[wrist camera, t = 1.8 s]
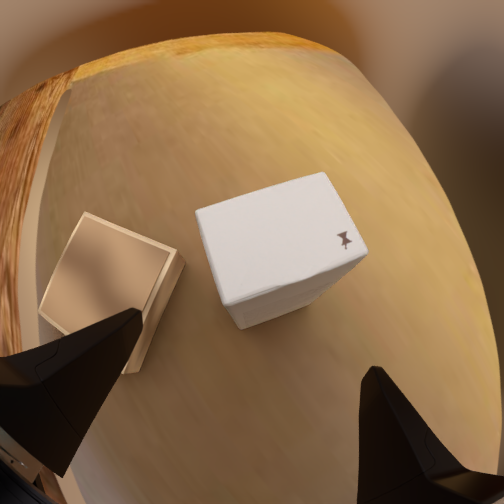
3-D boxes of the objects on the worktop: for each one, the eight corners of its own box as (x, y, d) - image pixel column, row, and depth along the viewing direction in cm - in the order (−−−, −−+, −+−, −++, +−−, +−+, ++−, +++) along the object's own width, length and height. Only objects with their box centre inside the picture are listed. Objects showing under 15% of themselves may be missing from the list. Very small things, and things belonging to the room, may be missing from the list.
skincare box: (290, 257, 22) (327, 167, 11) (310, 304, 21) (375, 254, 10) (220, 281, 22) (191, 207, 10) (238, 332, 20) (224, 311, 9)
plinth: (139, 371, 19) (122, 374, 16) (56, 317, 20) (36, 311, 17) (185, 262, 22) (176, 249, 19) (99, 225, 23) (84, 210, 20)
